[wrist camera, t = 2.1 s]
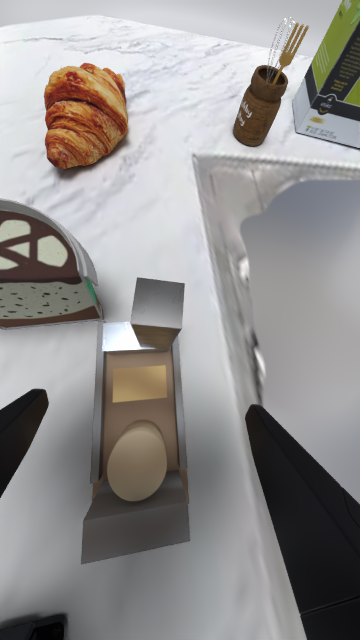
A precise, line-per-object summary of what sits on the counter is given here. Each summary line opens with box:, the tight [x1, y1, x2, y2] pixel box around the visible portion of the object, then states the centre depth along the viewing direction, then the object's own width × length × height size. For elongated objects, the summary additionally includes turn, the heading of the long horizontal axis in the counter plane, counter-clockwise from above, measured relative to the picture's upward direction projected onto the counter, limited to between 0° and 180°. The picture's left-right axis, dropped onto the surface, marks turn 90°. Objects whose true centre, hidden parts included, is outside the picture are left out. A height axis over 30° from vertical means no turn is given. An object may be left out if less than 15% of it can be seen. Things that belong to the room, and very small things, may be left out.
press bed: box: [81, 321, 190, 564], centre depth 16 cm, size 16×8×6 cm, turn 4°
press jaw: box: [102, 277, 185, 355], centre depth 14 cm, size 3×6×10 cm, turn 94°
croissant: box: [44, 63, 128, 169], centre depth 26 cm, size 21×10×8 cm, turn 165°
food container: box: [0, 198, 104, 330], centre depth 16 cm, size 12×6×10 cm, turn 99°
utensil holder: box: [234, 17, 308, 146], centre depth 27 cm, size 6×6×12 cm
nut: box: [107, 420, 167, 501], centre depth 15 cm, size 4×4×4 cm
